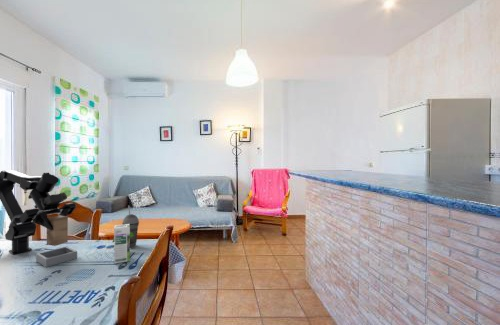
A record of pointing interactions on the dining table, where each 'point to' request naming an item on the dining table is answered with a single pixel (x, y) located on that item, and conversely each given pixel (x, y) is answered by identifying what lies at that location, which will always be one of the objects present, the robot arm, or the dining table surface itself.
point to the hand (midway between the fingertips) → (59, 227)
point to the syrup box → (121, 243)
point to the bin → (56, 256)
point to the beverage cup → (132, 227)
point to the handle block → (58, 230)
